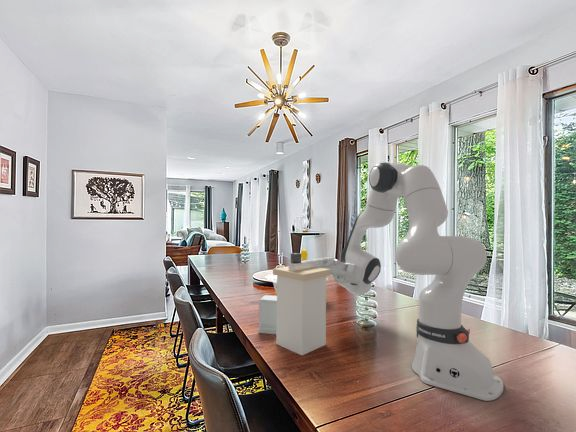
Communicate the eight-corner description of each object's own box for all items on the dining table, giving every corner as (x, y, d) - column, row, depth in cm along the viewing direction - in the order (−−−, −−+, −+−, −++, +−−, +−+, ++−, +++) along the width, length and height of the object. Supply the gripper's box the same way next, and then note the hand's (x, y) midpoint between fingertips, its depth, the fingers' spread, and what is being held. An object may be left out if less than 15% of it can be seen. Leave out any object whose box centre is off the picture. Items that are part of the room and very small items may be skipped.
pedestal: (329, 344, 108) (330, 269, 108) (302, 357, 99) (303, 274, 98) (300, 333, 118) (300, 264, 118) (272, 344, 108) (273, 268, 108)
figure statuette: (319, 286, 194) (319, 251, 194) (308, 288, 191) (308, 251, 190) (305, 281, 210) (305, 248, 210) (294, 282, 207) (295, 248, 206)
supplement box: (277, 334, 117) (277, 300, 117) (258, 333, 118) (258, 299, 118) (281, 327, 124) (282, 295, 124) (263, 326, 126) (264, 294, 125)
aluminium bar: (335, 264, 119) (336, 249, 119) (295, 271, 103) (295, 254, 103) (328, 263, 121) (328, 248, 121) (287, 270, 106) (288, 253, 106)
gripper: (326, 264, 134) (308, 250, 126) (369, 270, 120) (351, 255, 111) (321, 277, 132) (302, 264, 124) (364, 286, 118) (346, 271, 109)
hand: (326, 260), depth 117 cm, fingers open, 7 cm apart
